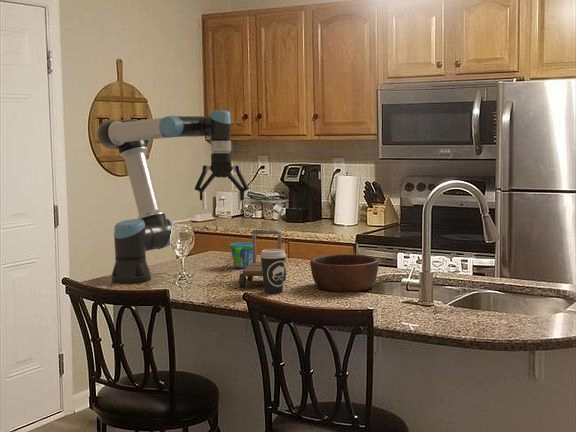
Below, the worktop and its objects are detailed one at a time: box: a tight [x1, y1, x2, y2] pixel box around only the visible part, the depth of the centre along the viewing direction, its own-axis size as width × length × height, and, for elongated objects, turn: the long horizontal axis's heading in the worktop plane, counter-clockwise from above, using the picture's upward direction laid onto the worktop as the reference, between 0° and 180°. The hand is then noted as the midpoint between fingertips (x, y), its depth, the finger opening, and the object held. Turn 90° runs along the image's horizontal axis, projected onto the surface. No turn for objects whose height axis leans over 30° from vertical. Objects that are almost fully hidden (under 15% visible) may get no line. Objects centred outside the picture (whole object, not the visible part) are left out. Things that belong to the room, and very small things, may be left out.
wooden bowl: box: [309, 253, 380, 293], centre depth 282 cm, size 25×25×10 cm
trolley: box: [238, 229, 287, 288], centre depth 290 cm, size 19×14×19 cm
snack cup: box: [229, 241, 253, 270], centre depth 326 cm, size 16×10×10 cm
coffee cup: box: [259, 248, 287, 295], centre depth 274 cm, size 10×10×15 cm
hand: (222, 209), depth 288 cm, fingers open, 13 cm apart
